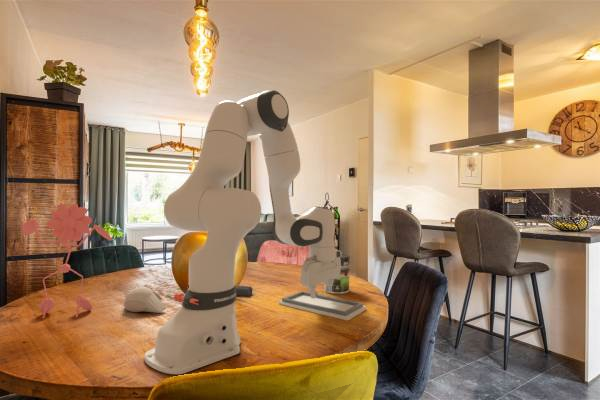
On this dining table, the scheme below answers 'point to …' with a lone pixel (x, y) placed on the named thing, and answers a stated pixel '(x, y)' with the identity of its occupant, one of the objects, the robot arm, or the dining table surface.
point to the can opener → (243, 290)
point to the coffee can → (341, 277)
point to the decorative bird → (143, 300)
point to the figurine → (66, 227)
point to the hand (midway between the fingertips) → (321, 294)
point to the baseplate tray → (324, 305)
